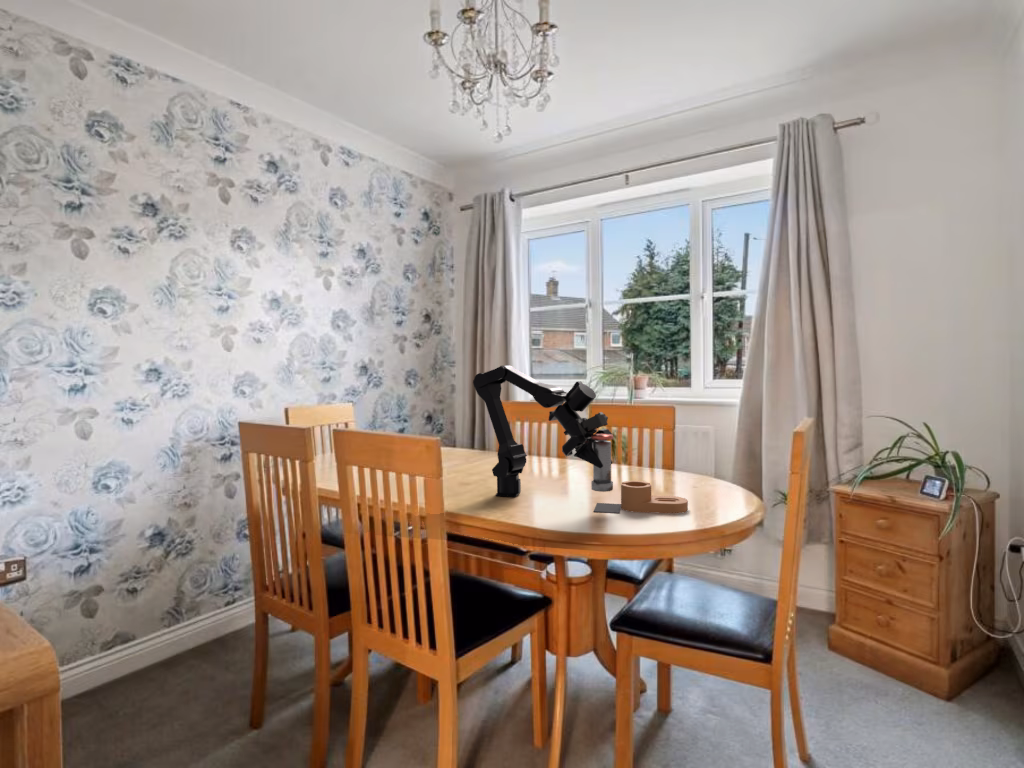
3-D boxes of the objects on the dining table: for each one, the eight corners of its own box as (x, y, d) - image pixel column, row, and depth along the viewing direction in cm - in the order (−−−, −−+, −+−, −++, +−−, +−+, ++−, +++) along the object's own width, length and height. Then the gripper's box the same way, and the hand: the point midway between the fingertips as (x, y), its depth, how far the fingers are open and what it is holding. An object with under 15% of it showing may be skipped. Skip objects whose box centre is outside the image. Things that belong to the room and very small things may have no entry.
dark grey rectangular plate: (593, 511, 154) (593, 511, 154) (596, 503, 163) (596, 502, 163) (619, 513, 153) (619, 512, 153) (621, 504, 161) (621, 504, 161)
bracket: (621, 512, 155) (621, 487, 154) (620, 504, 163) (620, 480, 162) (689, 514, 151) (689, 488, 151) (685, 506, 159) (685, 482, 159)
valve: (592, 491, 152) (592, 437, 151) (589, 486, 158) (589, 433, 157) (614, 491, 151) (614, 436, 151) (611, 486, 157) (611, 433, 157)
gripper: (571, 406, 148) (608, 452, 142) (606, 401, 163) (641, 442, 157) (546, 433, 154) (581, 478, 147) (582, 426, 168) (615, 467, 162)
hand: (606, 465), depth 153 cm, fingers closed on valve, 5 cm apart
